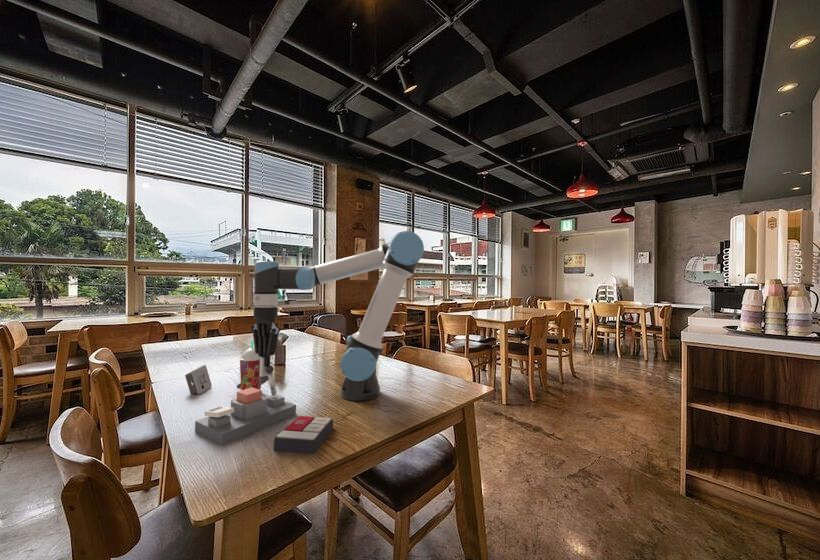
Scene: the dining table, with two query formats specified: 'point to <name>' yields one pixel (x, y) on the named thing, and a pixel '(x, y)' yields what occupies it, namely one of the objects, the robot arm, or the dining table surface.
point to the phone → (261, 381)
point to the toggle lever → (271, 379)
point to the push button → (249, 395)
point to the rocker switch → (219, 411)
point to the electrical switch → (198, 380)
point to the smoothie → (250, 369)
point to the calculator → (303, 435)
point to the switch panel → (245, 419)
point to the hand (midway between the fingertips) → (264, 375)
